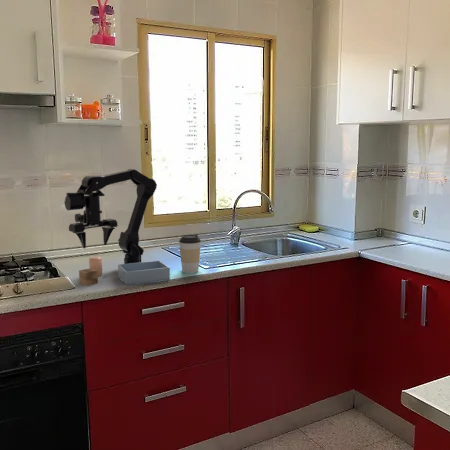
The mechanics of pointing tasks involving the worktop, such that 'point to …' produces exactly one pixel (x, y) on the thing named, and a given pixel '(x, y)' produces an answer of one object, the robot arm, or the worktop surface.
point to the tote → (143, 272)
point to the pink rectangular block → (96, 264)
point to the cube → (88, 276)
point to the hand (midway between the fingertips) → (94, 246)
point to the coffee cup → (190, 253)
